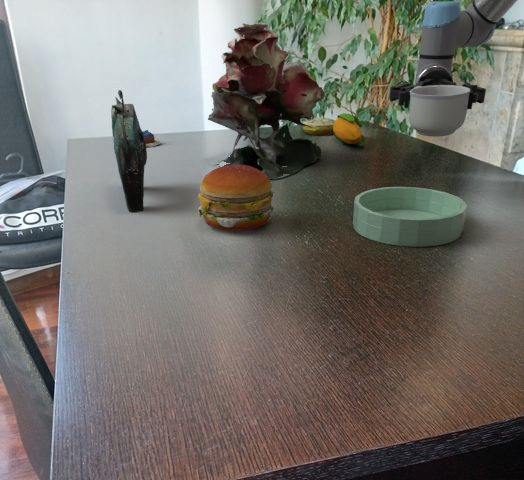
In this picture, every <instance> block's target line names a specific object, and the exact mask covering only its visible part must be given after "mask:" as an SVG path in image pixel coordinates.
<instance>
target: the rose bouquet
mask: <svg viewBox="0 0 524 480" xmlns="http://www.w3.org/2000/svg"><path fill="white" fill-rule="evenodd" d="M268 27H269V23H266V22H255V23H254V24H249V23H242V25H241V26H238V27H237V28H233V31H234V33H235V34H237V35H238V36H237V37H235V38H233V39H231V40H229V42H228V43H227V46H226V47H227V48H228V49H230V50H231V51H228V52H223V53H222V54H221V59H222V61H223V62H222V64H224V65H225V74H223V75H221V76H220V77H219V79H218V80H217V81H216V82H213V83H212V91H211V95H210V97H211V98H212V105H213V108H211V111H212V112H211V113H210V114H209V115H208V117H207V120H208V121H211V122H212V123H214V124H218V125H219V126H223V127H225V128H226V129H229V130H232V131H234V132H236V133H237V136H236V137H235V141H234V145H233V150H232V152H231V153H232V154H231V153H230V154H231V155H230V157H228V156H227V157H226V158H225V159H224V160H225V161H224V160H223V161H224V162H226V163H230V164H226V165H247V166H251V167H253V168H255V167H259V166H260V167H261V168H262V170H261V171H262V172H263V173H264V174H265V175H266V176H267V177H268V178H269V180H270V179H274V180H277V179H276V178H278V177H281V176H283V174H292V175H294V174H296V173H298V172H300V171H301V170H303V169H304V167H305V166H307V165H312V164H314V163H316V162H317V160H318V159H320V158H322V154H323V153H322V149H321V146H320V145H317V141H315V142H313V140H311V139H308V138H306V137H297V138H293V136H292V135H291V132H290V128H289V122H291V123H294V124H295V125H298V126H300V127H302V126H303V127H304V126H308V125H306V124H303V123H302V121H301V119H305V120H311V119H313V117H314V111H313V109H315V108H316V107H317V103H318V102H320V101H321V100H323V99H324V98H325V97H326V93H325V91H324V89H323V87H322V86H320V85H319V83H318V82H317V81H316V80H315V79H314V78H313V77H312V75H311V74H310V71H309V70H308V69H307V66H305V65H302V64H300V63H299V62H298V61H289V62H287V63H286V59H287V57H289V53H288V52H287V50H282V49H281V48H280V46H279V44H278V40H279V34H278V33H277V32H276V33H275V32H274V31H273V30H271V29H270V28H268ZM280 121H288V122H287V123H285V124H284V125H282V126H281V127H280V125H281V124H280ZM262 126H269V127H271V128H272V133H271V134H270V135H269V136H267V137H263V138H262V137H261V136H260V135H261V134H260V132H261V130H260V128H261V127H262ZM303 127H302V128H303ZM308 127H310V126H308ZM310 128H312V127H310ZM242 137H244V138H243V142H246V140H247V139H248V140H250V142H251V144H252V145H250V144H247V145H246V146H243V147H238V148H236V146H237V145H238V144H239V142H240V140H241V138H242ZM226 165H224V166H226ZM254 166H255V167H254ZM282 166H287V167H282Z"/></svg>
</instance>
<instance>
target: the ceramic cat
mask: <svg viewBox="0 0 524 480" xmlns="http://www.w3.org/2000/svg"><path fill="white" fill-rule="evenodd" d="M117 95H118V97H119V98H118V97H116V96H114V98H115V101H116V104H111V109H110V113H111V115H110V118H111V130H112V131H111V133H112V137H113V150H114V154H115V159H116V164H117V171H118V174H119V178H120V182H121V186H122V191H123V195H124V199H125V204H126V209H127V211H128V212H130V213H132V212H143V211H144V209H145V208H144V207H145V206H144V195H145V193H144V191H145V190H144V188H145V187H144V186H145V166H146V164H147V162H148V161H147V159H148V151H147V148H148V147H147V146H146V142H145V139H144V135H143V132H142V131H143V130H142V128H141V125H140V122H139V118H138V116H137V112H136V109H135V106H134V104H133V103H125V101H124V95H123V91H122V90H121V89H118V91H117Z"/></svg>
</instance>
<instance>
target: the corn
mask: <svg viewBox="0 0 524 480" xmlns="http://www.w3.org/2000/svg"><path fill="white" fill-rule="evenodd" d="M362 128H363V126H362V123H361V120H360V119H359V118H358V117H357V116H356V115H354V114H353V115H352V114H350V113H346V112H345V113H344V112H343V113H340V114H338V115H337V117H336V119H335V122H334V124H333V133H332V134H333V136H334V137H335V138H336V140H337V141H338V142H339V143H341V144H342V145H346V144H349V145H351V144H354V145H355V146H356V145H357V146H358V147H362V146H364V145H365V144H366V137H365V136H364V135H363V134H362V131H361V129H362ZM345 143H346V144H345Z"/></svg>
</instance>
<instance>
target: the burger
mask: <svg viewBox="0 0 524 480" xmlns="http://www.w3.org/2000/svg"><path fill="white" fill-rule="evenodd" d="M262 171H263V170H260V169H258V168H256V167H251V166H247V165H226V166H222V167H219V166H218V167H217V168H215V169H213V170H211V171H209V173H207V174H205V176H203V178H202V180H201V182H200V184H199V191H200V193H198V195H197V197H198V200H199V204H200V206H199V207H198V208H197V209H198V210H197V211H198V216H199V218H203V220H204V222H205V223H206V224H207V225H208V226H209V227H213V228H215V229H221V230H224V231H225V230H226V231H244V230H245V231H247V230H252V229H256V228H260V227H261V226H264V225H266V224H267V222H269V220H270V218H272V217H273V216H272V215H273V211H274V210H275V207H274V206H273V205H272V199H273V197H274V191H273V189H272V188H273V185H272V180H270V179H269V178H268V177H267V176H266V175H265V174H264V173H263V172H262Z"/></svg>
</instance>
